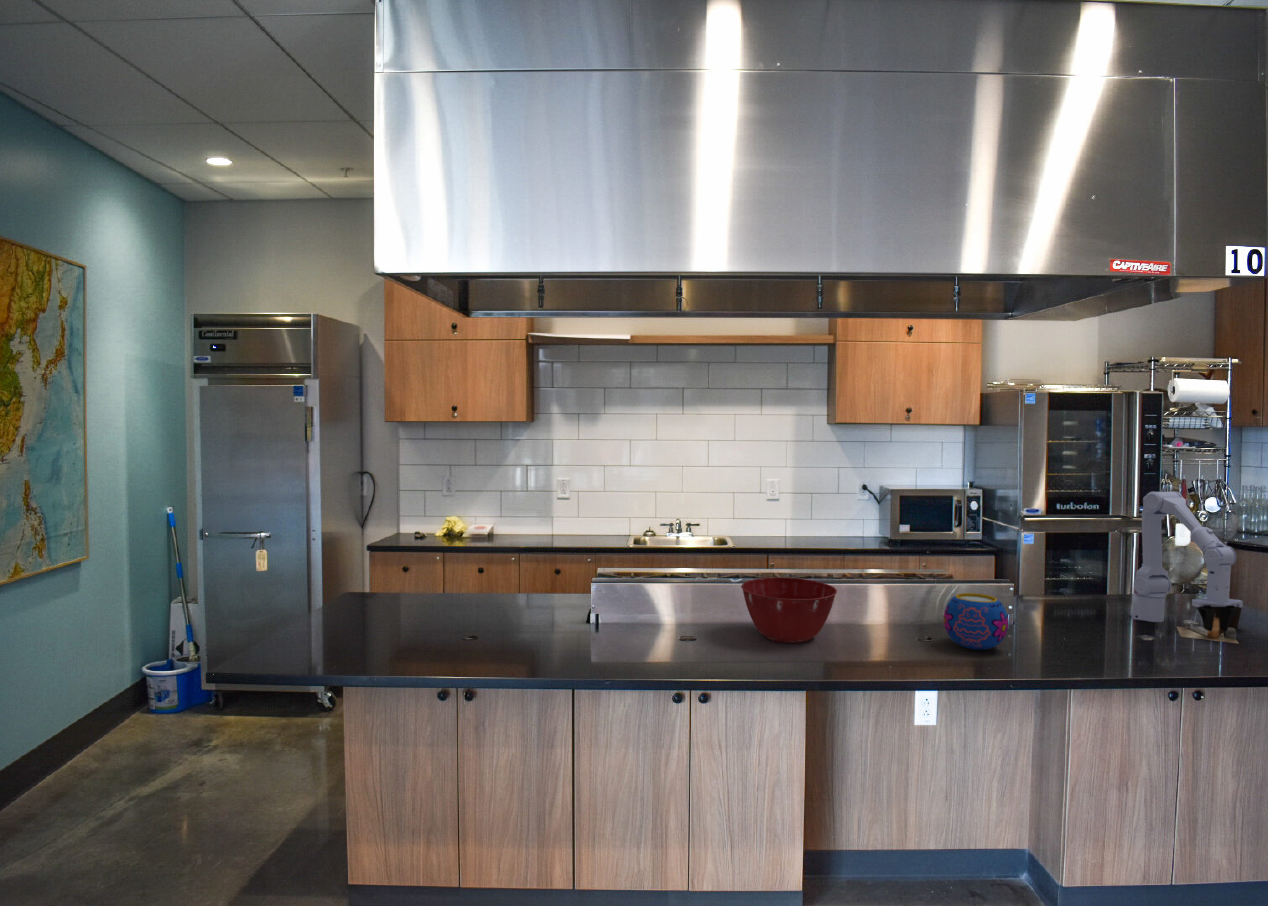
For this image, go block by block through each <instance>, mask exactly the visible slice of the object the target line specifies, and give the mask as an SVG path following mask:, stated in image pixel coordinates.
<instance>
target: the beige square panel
mask: <svg viewBox="0 0 1268 906" xmlns="http://www.w3.org/2000/svg"><path fill="white" fill-rule="evenodd" d="M1176 629H1177V632H1178V633H1179V635H1180V637H1181V638H1189V639H1198V640H1205V641H1206V640H1207V641H1213V642H1214V641H1215V642H1223V643H1232V644H1240V643H1239V641H1238V640H1237V631H1238V630H1237V631H1236V630H1235V629H1234V628H1230V627H1228V630H1227V631H1224V632H1223V633H1222V634H1221V635H1219V638H1210V637H1207V636H1206V635H1204V634H1201V633H1199V632H1196V631H1194V630H1192V629H1190V625H1187V624H1185V625H1184V627H1182V626H1176Z"/></svg>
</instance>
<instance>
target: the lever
mask: <svg viewBox="0 0 1268 906" xmlns="http://www.w3.org/2000/svg"><path fill="white" fill-rule="evenodd" d="M1183 624H1187V625H1190V629H1192V630H1194V631H1196V632H1199V633H1201V634H1204V635H1206V636H1207V637H1210V638H1219V631H1220V618H1218V617H1214V618H1213V626H1212V631H1208V630H1205V629H1204V627H1202V626H1200V623H1198V621H1195V620H1191V619H1184V620H1183Z"/></svg>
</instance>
